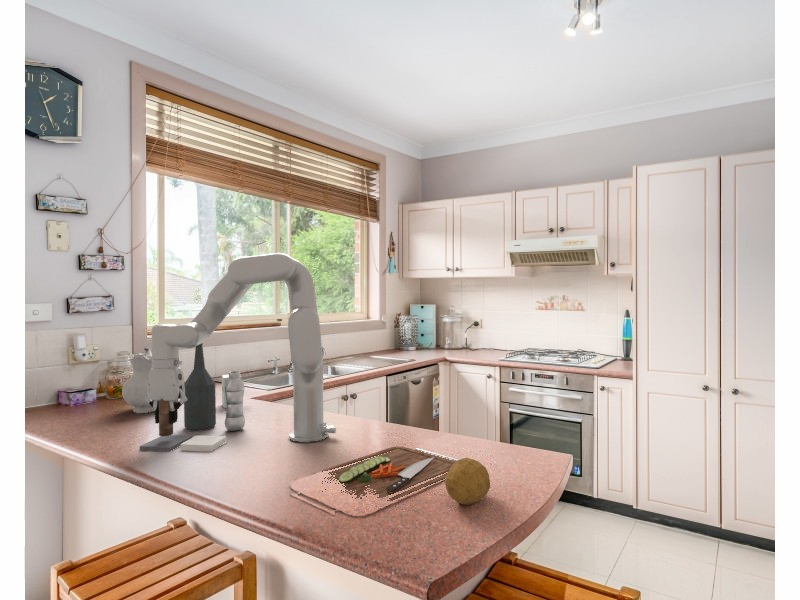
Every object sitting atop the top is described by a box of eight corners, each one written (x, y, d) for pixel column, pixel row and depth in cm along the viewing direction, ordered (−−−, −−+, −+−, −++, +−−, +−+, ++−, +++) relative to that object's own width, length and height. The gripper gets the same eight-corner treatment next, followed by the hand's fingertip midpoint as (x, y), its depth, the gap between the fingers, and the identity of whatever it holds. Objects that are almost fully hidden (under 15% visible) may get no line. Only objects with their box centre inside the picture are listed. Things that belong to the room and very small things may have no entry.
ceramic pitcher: (117, 411, 206) (110, 351, 204) (166, 400, 219) (161, 343, 217) (131, 421, 190) (124, 356, 188) (184, 408, 203) (178, 347, 201)
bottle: (199, 422, 183) (198, 340, 182) (221, 424, 179) (220, 340, 179) (178, 430, 173) (176, 343, 172) (201, 432, 170) (199, 343, 169)
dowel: (175, 432, 158) (175, 388, 158) (168, 436, 154) (167, 390, 154) (164, 432, 158) (163, 388, 158) (156, 435, 154) (155, 390, 154)
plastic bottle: (220, 431, 171) (219, 372, 170) (235, 426, 177) (234, 370, 176) (234, 433, 168) (233, 374, 167) (249, 428, 174) (248, 371, 173)
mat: (192, 439, 161) (192, 435, 161) (170, 451, 150) (170, 447, 150) (164, 438, 163) (164, 434, 163) (139, 450, 151) (139, 446, 151)
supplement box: (221, 404, 211) (221, 374, 211) (240, 403, 214) (239, 373, 214) (223, 408, 205) (223, 377, 204) (242, 406, 208) (242, 376, 207)
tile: (226, 436, 158) (196, 435, 160) (211, 445, 149) (180, 444, 151) (226, 443, 158) (196, 442, 160) (212, 453, 149) (180, 451, 151)
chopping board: (403, 447, 153) (403, 437, 153) (476, 468, 135) (476, 456, 135) (276, 490, 121) (275, 478, 120) (349, 526, 102) (349, 511, 102)
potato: (501, 455, 115) (464, 445, 120) (476, 477, 104) (436, 464, 109) (498, 495, 116) (462, 483, 121) (473, 520, 105) (434, 505, 110)
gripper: (197, 362, 158) (197, 420, 159) (148, 361, 161) (149, 418, 161) (183, 366, 151) (184, 426, 151) (132, 365, 153) (133, 424, 154)
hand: (166, 422), depth 156 cm, fingers closed on dowel, 4 cm apart
